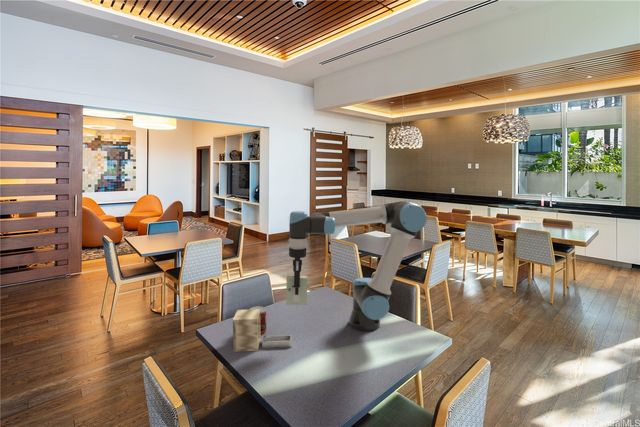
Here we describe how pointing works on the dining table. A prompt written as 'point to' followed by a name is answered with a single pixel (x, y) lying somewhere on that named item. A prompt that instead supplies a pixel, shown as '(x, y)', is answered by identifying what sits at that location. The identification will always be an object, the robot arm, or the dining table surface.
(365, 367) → the dining table surface
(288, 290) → the pale green rectangular block
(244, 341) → the open wooden box
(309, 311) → the dining table surface
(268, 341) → the grey rectangular frame
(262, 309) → the canned food
